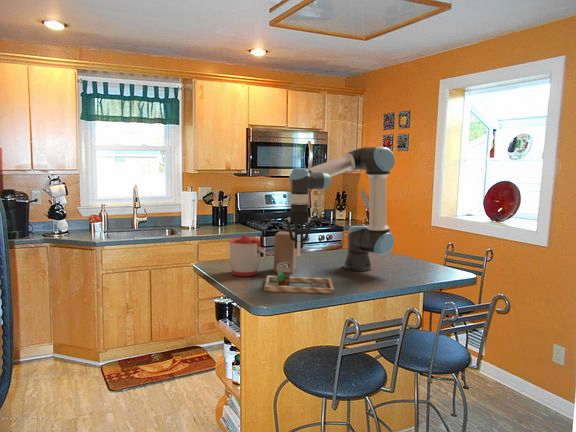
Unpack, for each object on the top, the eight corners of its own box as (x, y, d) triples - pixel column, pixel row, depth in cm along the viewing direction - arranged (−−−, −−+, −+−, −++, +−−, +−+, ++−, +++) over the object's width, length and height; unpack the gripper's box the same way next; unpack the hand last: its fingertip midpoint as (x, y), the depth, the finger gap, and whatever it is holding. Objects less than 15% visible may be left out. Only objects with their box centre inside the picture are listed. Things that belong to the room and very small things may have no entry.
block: (292, 274, 225) (294, 234, 223) (273, 272, 227) (274, 233, 225) (296, 269, 235) (297, 232, 233) (277, 268, 237) (278, 230, 234)
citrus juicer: (259, 279, 213) (260, 238, 211) (224, 276, 216) (225, 235, 214) (266, 271, 229) (267, 233, 226) (233, 269, 232) (234, 231, 229)
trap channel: (330, 282, 212) (330, 277, 211) (333, 293, 194) (333, 288, 194) (267, 280, 212) (267, 275, 212) (264, 290, 195) (264, 285, 194)
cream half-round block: (275, 282, 209) (276, 261, 208) (289, 282, 209) (289, 261, 208) (275, 289, 197) (275, 267, 196) (289, 290, 197) (289, 268, 196)
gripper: (313, 202, 202) (312, 254, 205) (285, 202, 202) (284, 253, 206) (314, 204, 195) (313, 257, 198) (284, 204, 195) (283, 257, 198)
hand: (298, 255), depth 202 cm, fingers closed
